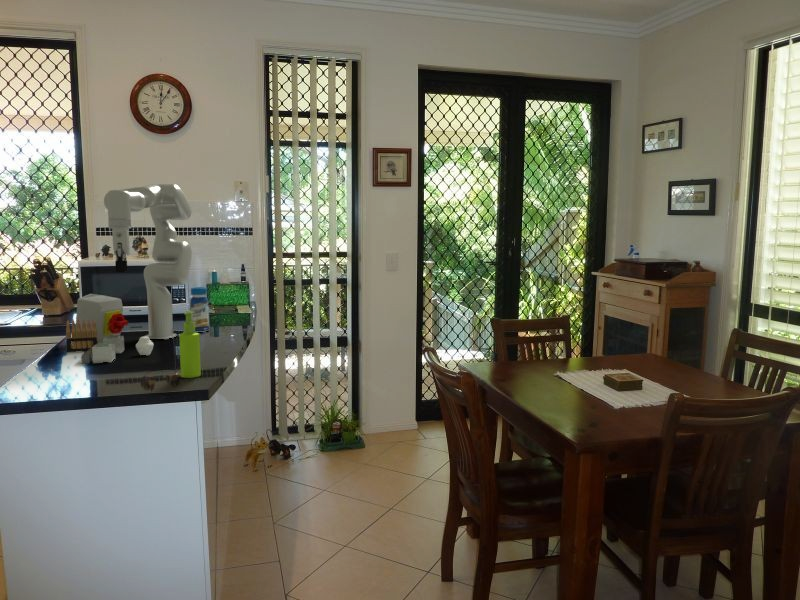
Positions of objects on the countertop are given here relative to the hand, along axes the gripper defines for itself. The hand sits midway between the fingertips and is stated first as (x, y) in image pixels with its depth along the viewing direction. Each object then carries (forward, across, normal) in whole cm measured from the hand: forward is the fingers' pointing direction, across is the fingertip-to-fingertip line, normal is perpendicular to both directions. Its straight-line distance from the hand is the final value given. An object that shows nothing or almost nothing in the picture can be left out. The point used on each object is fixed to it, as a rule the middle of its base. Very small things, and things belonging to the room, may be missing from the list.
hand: (121, 271), depth 227 cm
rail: (+30, -5, +6) cm, 31 cm away
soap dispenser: (+31, -47, -22) cm, 61 cm away
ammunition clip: (+30, +10, +15) cm, 35 cm away
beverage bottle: (+29, +42, -28) cm, 59 cm away
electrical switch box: (+30, +27, +9) cm, 42 cm away
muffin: (+30, -7, -7) cm, 32 cm away
